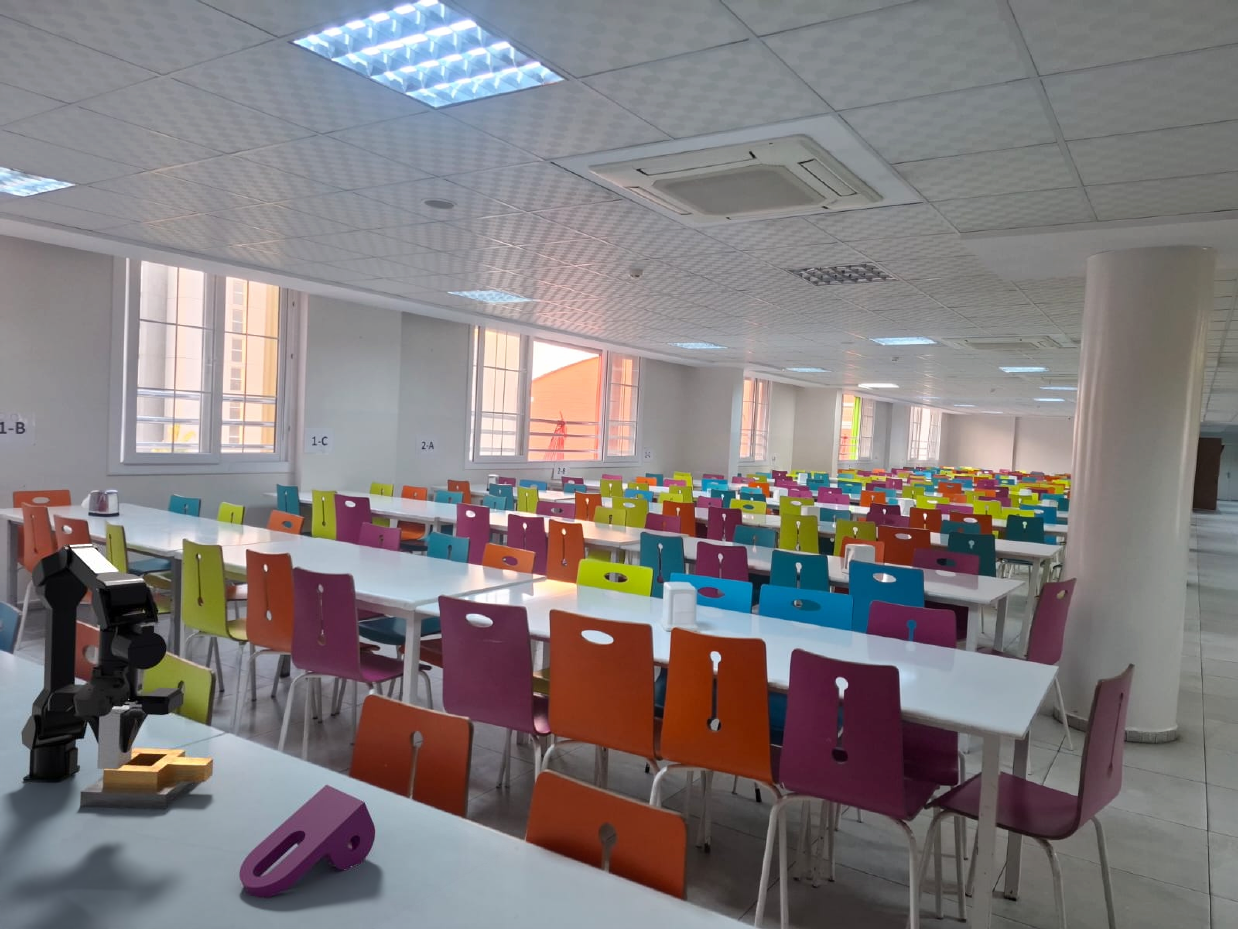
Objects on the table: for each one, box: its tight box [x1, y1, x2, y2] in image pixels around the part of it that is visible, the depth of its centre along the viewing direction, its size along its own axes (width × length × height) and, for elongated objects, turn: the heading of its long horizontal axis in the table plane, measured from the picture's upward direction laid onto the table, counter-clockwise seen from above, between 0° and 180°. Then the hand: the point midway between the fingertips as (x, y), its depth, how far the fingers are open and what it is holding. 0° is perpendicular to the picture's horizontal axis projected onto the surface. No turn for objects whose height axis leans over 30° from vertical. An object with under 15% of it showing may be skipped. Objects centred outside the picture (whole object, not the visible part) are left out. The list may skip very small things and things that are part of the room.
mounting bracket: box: [238, 784, 376, 898], centre depth 123 cm, size 9×8×18 cm
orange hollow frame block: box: [79, 747, 214, 810], centre depth 146 cm, size 18×14×6 cm
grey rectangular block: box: [97, 705, 133, 770], centre depth 134 cm, size 3×4×9 cm
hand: (115, 751), depth 134 cm, fingers closed on grey rectangular block, 3 cm apart
